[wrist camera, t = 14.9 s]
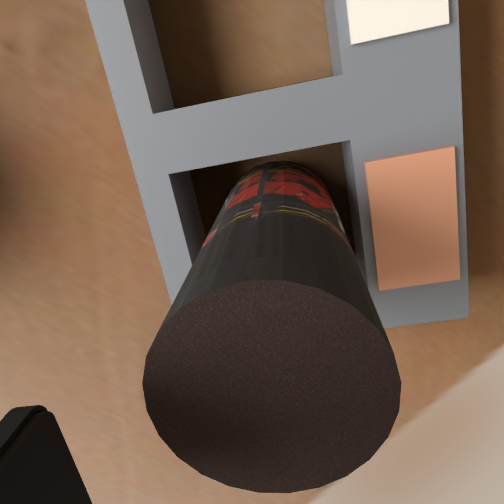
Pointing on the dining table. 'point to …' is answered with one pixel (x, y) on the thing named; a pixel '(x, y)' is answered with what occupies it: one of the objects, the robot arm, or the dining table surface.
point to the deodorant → (273, 345)
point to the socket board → (319, 143)
